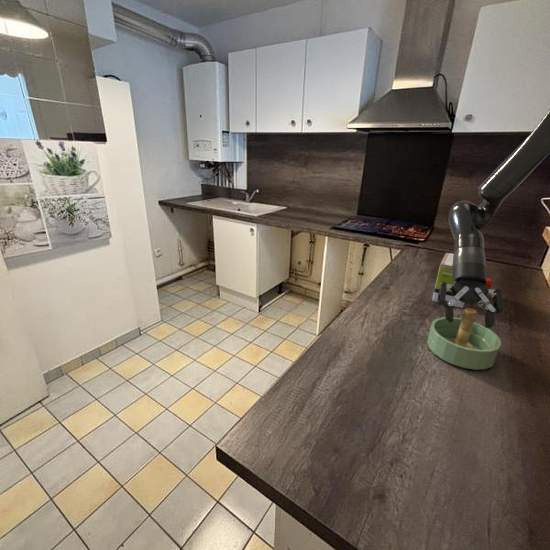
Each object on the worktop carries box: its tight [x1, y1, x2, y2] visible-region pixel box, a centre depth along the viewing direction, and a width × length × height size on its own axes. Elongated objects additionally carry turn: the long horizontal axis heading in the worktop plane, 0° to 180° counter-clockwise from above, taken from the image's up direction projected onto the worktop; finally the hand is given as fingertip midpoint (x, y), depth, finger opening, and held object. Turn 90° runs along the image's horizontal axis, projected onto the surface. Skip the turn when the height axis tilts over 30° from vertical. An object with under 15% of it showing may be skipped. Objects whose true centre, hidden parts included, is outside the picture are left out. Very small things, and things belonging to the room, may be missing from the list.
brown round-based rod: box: [448, 307, 478, 349], centre depth 76 cm, size 6×6×12 cm
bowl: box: [426, 316, 502, 370], centre depth 77 cm, size 16×16×6 cm
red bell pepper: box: [486, 276, 493, 289], centre depth 107 cm, size 6×6×8 cm
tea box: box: [432, 252, 465, 309], centre depth 105 cm, size 15×10×15 cm
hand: (469, 324), depth 73 cm, fingers open, 8 cm apart
